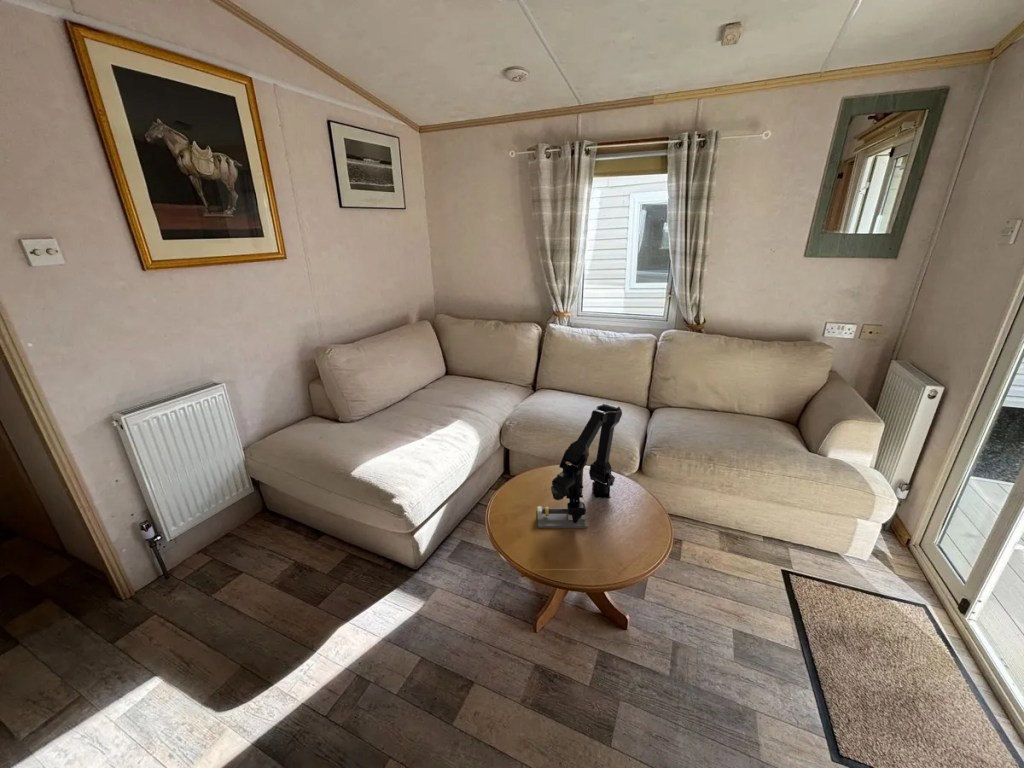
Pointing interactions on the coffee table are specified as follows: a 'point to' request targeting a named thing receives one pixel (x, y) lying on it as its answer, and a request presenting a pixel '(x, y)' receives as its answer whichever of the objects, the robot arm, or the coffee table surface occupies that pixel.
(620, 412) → the robot arm
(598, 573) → the coffee table surface
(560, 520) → the grey rod slide mechanism
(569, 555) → the coffee table surface
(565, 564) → the coffee table surface
